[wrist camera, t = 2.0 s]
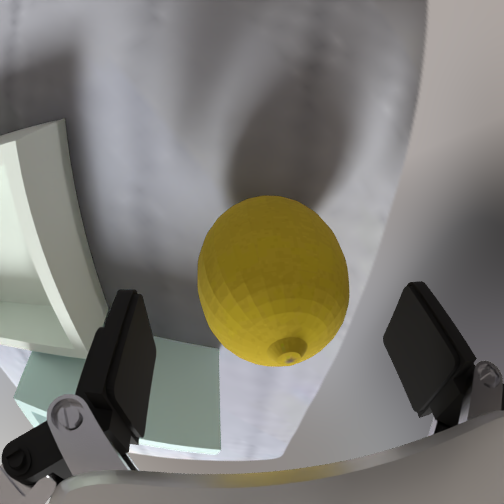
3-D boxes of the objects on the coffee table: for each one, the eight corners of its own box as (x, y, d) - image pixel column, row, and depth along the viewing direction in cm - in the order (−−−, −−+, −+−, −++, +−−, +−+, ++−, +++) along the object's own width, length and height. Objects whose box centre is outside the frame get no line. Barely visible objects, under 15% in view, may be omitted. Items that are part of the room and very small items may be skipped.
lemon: (232, 282, 17) (239, 417, 10) (183, 198, 14) (148, 330, 7) (327, 247, 16) (385, 372, 9) (296, 151, 13) (372, 251, 6)
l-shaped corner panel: (72, 389, 23) (56, 455, 17) (53, 307, 17) (13, 397, 11) (189, 416, 26) (188, 485, 20) (219, 348, 20) (221, 449, 14)
